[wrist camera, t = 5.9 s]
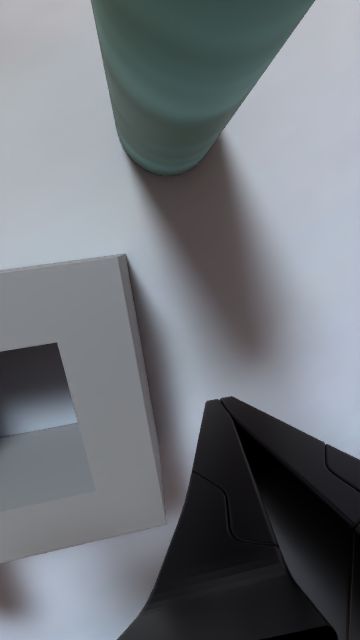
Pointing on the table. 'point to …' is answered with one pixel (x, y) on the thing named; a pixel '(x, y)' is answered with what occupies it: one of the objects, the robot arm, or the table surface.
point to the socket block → (80, 412)
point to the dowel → (185, 69)
